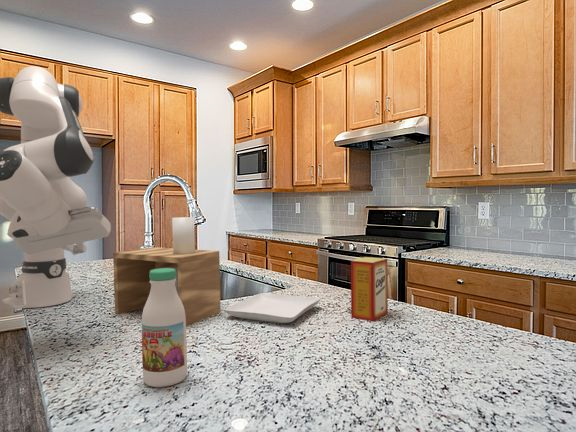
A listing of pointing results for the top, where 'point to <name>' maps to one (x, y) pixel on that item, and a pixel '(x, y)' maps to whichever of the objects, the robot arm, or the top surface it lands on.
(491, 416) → the top surface
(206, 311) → the cubby
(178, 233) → the white pillar candle
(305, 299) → the salad plate
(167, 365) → the milk bottle
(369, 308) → the baking soda box
